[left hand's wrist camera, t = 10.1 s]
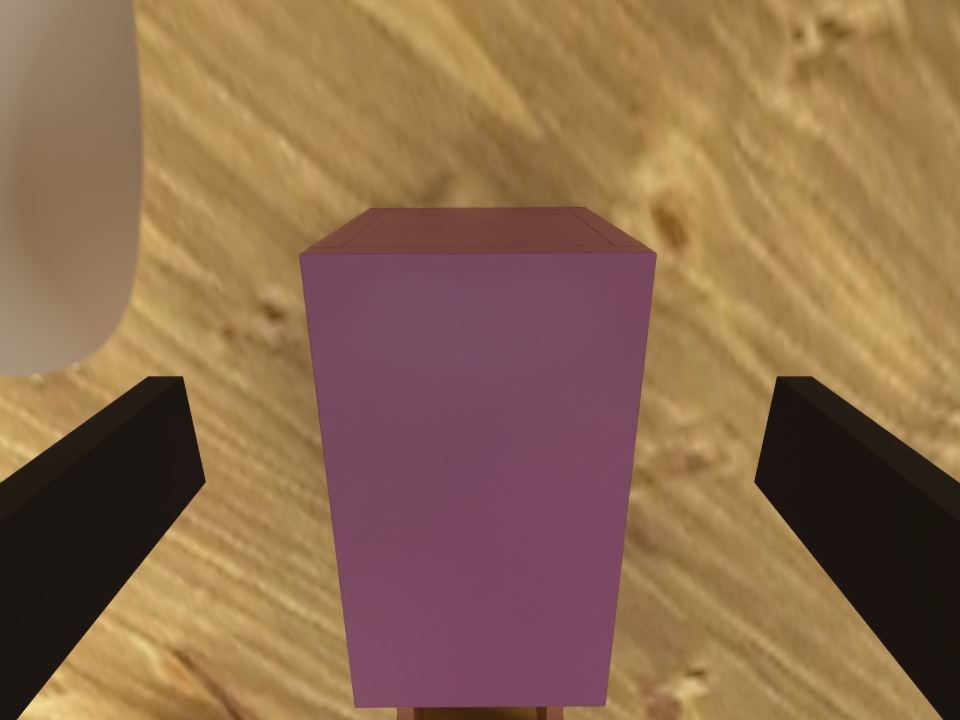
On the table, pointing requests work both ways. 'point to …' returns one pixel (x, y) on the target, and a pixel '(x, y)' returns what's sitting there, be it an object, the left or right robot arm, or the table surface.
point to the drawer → (480, 713)
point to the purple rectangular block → (478, 446)
